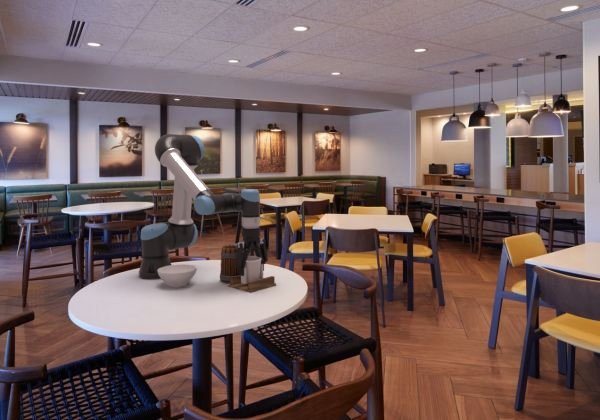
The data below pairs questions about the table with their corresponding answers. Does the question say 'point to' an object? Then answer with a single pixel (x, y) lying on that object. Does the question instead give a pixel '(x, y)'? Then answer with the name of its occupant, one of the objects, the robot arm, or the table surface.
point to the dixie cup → (253, 268)
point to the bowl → (177, 274)
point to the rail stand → (252, 284)
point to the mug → (228, 263)
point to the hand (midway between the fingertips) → (252, 281)
